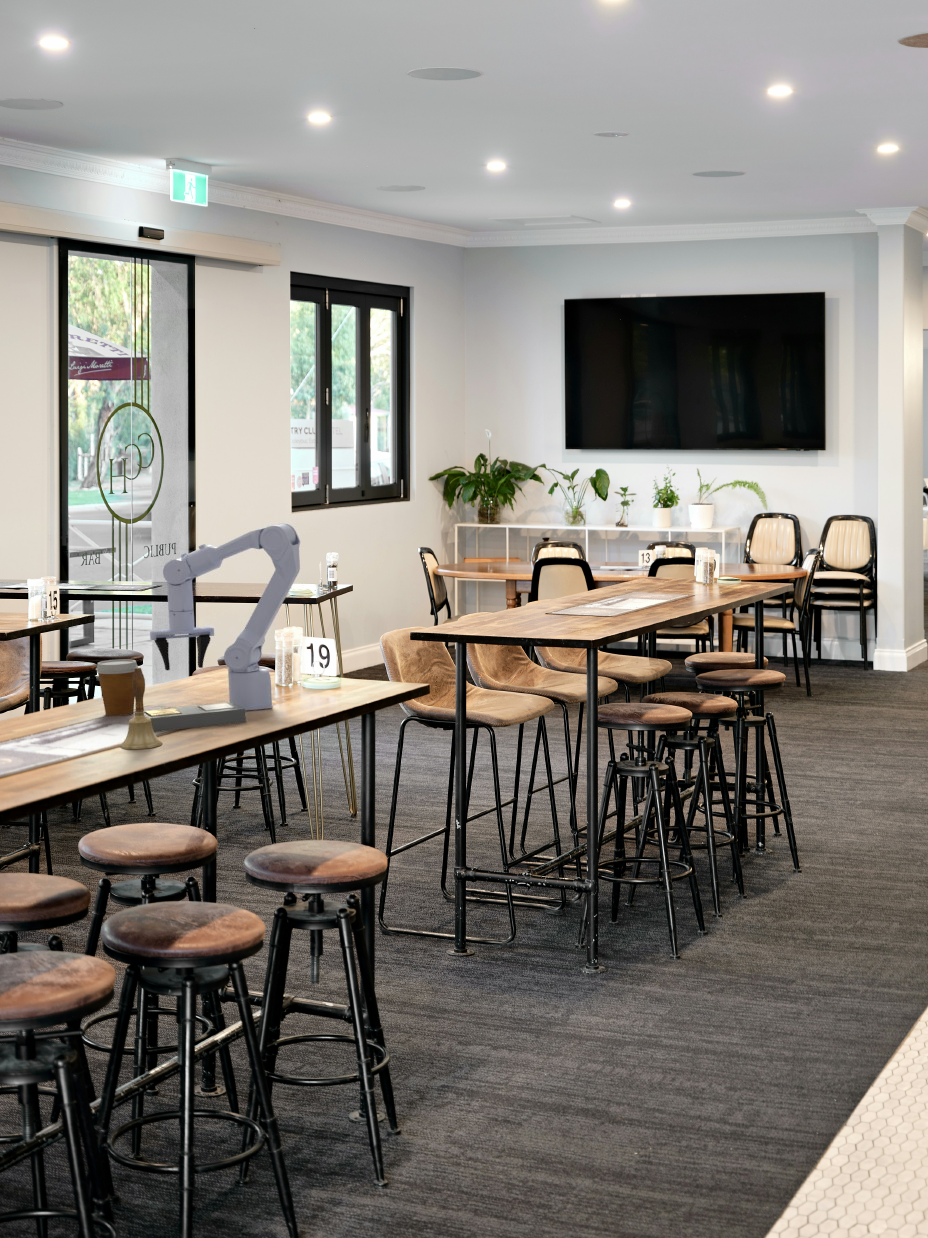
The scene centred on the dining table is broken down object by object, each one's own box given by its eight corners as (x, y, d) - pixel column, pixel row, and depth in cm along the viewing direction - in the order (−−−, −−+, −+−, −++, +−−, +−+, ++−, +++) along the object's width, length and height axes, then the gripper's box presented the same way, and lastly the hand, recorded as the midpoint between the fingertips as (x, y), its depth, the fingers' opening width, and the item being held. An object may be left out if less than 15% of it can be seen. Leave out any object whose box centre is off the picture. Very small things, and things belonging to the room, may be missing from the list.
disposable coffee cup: (130, 717, 334) (127, 665, 332) (91, 717, 335) (88, 665, 334) (147, 710, 343) (144, 659, 341) (109, 709, 345) (106, 659, 343)
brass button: (174, 721, 325) (173, 708, 325) (181, 726, 320) (180, 712, 319) (145, 724, 323) (145, 711, 322) (152, 729, 317) (151, 715, 317)
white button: (227, 716, 330) (226, 703, 330) (234, 720, 325) (234, 707, 324) (199, 719, 328) (198, 705, 327) (206, 723, 322) (206, 710, 322)
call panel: (232, 714, 333) (231, 701, 333) (246, 722, 323) (245, 708, 323) (135, 724, 324) (134, 711, 324) (146, 732, 314) (145, 718, 314)
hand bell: (123, 742, 304) (119, 666, 302) (164, 741, 305) (160, 664, 303) (117, 750, 296) (113, 672, 294) (159, 749, 297) (155, 670, 295)
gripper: (152, 614, 335) (155, 673, 336) (215, 610, 340) (218, 668, 341) (147, 611, 341) (150, 669, 343) (209, 607, 346) (212, 664, 348)
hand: (184, 668), depth 342 cm, fingers open, 7 cm apart
